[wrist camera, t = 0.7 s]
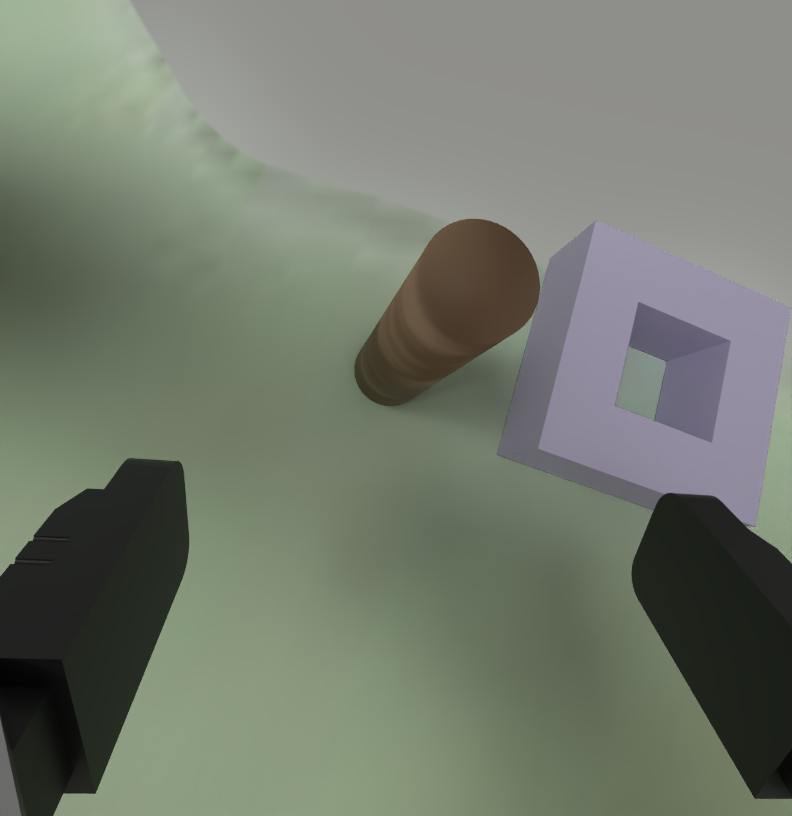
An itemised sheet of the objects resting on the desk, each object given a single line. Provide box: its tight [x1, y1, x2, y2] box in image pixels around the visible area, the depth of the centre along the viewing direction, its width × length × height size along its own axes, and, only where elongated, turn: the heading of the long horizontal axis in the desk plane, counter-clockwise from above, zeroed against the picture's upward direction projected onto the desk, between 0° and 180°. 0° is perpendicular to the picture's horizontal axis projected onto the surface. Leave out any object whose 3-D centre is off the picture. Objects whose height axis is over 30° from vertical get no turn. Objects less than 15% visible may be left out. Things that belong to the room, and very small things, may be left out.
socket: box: [497, 221, 791, 527], centre depth 31 cm, size 13×13×5 cm
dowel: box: [355, 219, 540, 406], centre depth 24 cm, size 4×4×14 cm
